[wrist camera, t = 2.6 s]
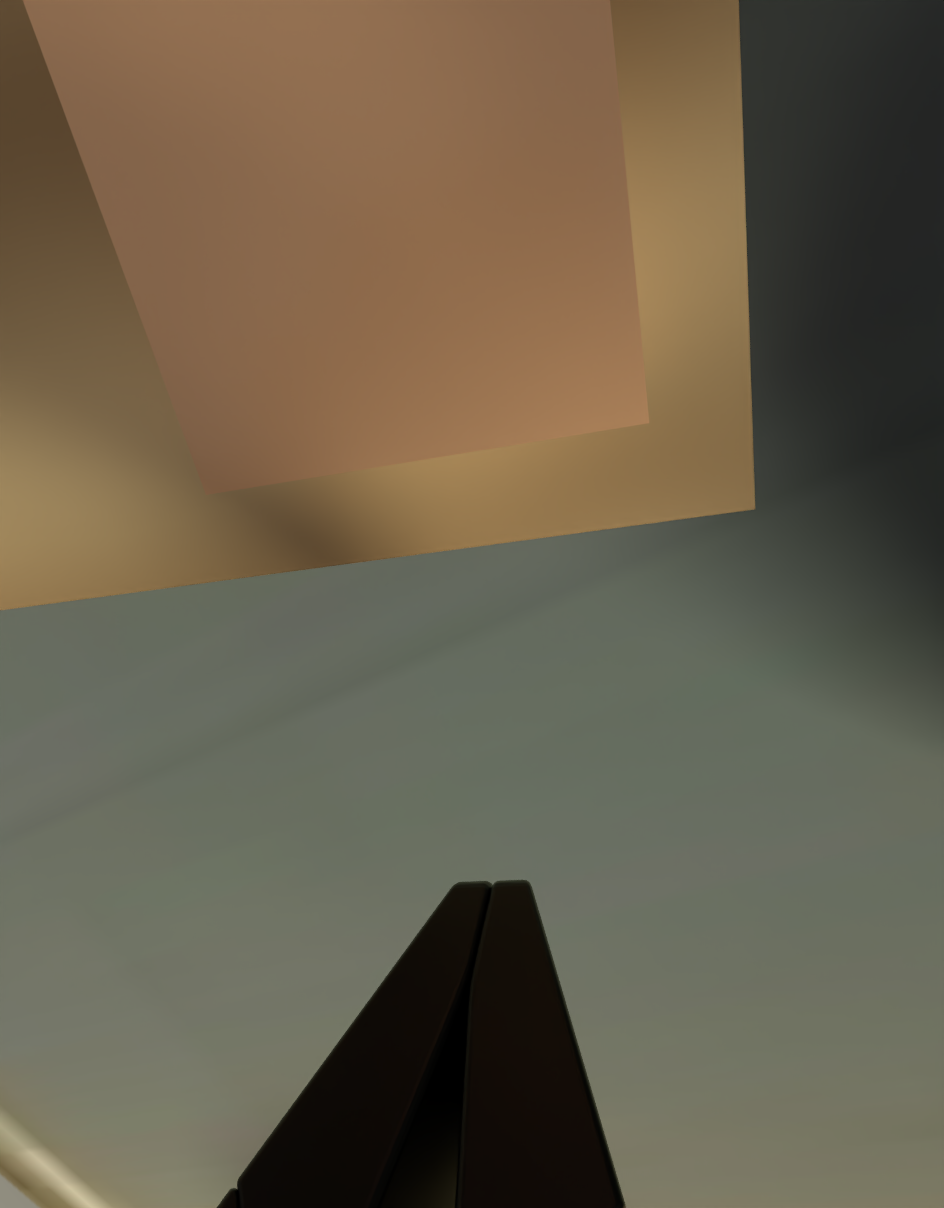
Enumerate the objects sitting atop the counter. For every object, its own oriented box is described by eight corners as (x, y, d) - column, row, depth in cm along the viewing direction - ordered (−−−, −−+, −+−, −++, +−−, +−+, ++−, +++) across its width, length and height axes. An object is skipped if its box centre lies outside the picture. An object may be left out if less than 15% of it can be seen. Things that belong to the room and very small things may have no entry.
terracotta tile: (636, 381, 8) (649, 422, 7) (277, 444, 9) (205, 495, 8) (586, -134, 6) (585, -267, 5) (140, 10, 7) (1, -57, 6)
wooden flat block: (706, 428, 12) (755, 509, 9) (-66, 550, 16) (-253, 643, 12) (636, -760, 7) (685, -1678, 4) (-485, -205, 11) (-1012, -416, 7)
